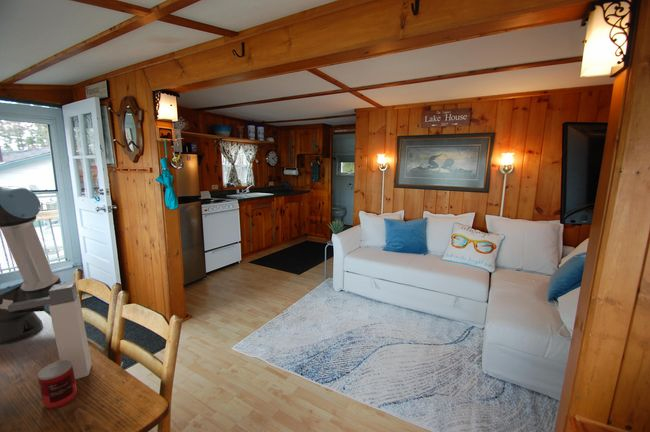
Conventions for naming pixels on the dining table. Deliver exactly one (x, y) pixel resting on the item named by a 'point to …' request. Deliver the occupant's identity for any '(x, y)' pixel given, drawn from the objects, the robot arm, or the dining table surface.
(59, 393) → the canned food
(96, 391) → the dining table surface
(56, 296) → the steel bar
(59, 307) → the stand
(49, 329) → the dining table surface
